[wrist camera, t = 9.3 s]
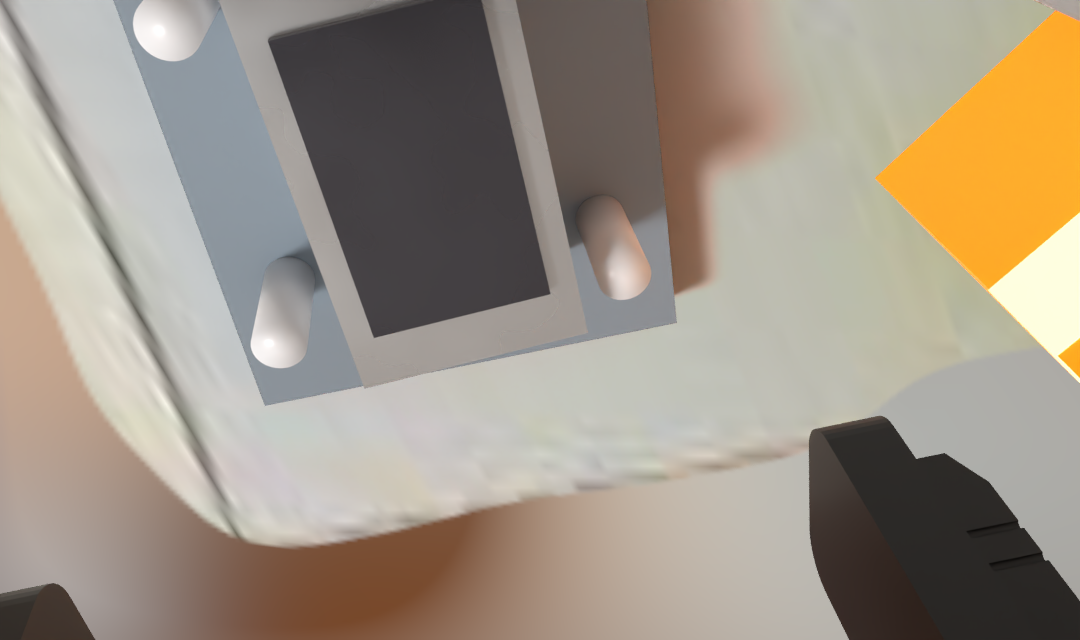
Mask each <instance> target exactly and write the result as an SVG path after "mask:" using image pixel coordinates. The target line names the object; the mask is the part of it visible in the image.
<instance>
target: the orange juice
mask: <svg viewBox="0 0 1080 640" xmlns="http://www.w3.org/2000/svg"><path fill="white" fill-rule="evenodd" d="M875 179H876V180H877V181H878V182H879V183H880V184H881V185H882V186H883V187H884V188H885V189H886V190H887V191H888V192H889V193H890V194H891V195H892V196H893V197H894V198H895V199H896V200H897V201H898V202H899V203H900V204H901V205H902V206H903V207H904V208H905V209H906V210H907V211H908V212H909V213H910V214H911V215H912V216H913V217H914V218H915V219H916V220H917V221H918V222H919V223H920V224H921V225H922V226H923V227H924V228H925V229H926V230H927V231H928V232H929V233H930V234H931V235H932V236H933V237H934V238H935V239H936V240H937V241H938V242H939V243H940V244H941V245H942V246H943V247H944V248H945V249H946V250H947V251H948V252H949V253H950V254H951V255H952V256H953V257H954V258H955V259H956V260H957V261H958V262H959V263H960V264H961V265H962V266H963V267H964V268H965V269H966V270H967V271H968V272H969V273H970V274H971V275H972V276H973V277H974V278H975V279H976V280H977V281H978V282H979V283H980V284H981V285H982V286H983V287H984V288H985V289H986V290H987V291H988V292H989V293H990V294H991V295H992V296H993V297H994V298H995V299H996V300H997V301H998V302H999V303H1000V304H1001V305H1002V306H1003V307H1004V308H1005V309H1006V310H1007V311H1008V312H1009V313H1010V314H1011V315H1012V316H1013V317H1014V318H1015V319H1016V320H1017V321H1018V322H1019V323H1020V324H1021V325H1022V326H1023V327H1024V328H1025V329H1026V330H1027V331H1028V332H1029V333H1030V334H1031V335H1032V336H1033V337H1034V338H1035V339H1036V340H1037V341H1038V342H1039V343H1040V344H1041V345H1042V346H1043V347H1044V348H1045V349H1046V350H1047V351H1048V352H1049V353H1050V354H1051V355H1052V356H1053V357H1054V358H1055V359H1056V360H1057V361H1058V362H1059V363H1060V364H1061V365H1062V366H1063V367H1064V368H1065V369H1066V370H1067V371H1068V372H1069V373H1070V374H1071V375H1072V376H1073V377H1074V378H1075V379H1076V380H1077V381H1078V382H1079V383H1080V21H1077V20H1075V19H1073V18H1071V17H1069V16H1067V15H1065V14H1062V13H1060V12H1058V11H1055V12H1054V13H1053V14H1052V15H1051V16H1050V17H1049V18H1047V19H1046V20H1045V21H1044V22H1043V23H1042V24H1041V25H1040V26H1039V27H1038V28H1037V29H1036V30H1035V31H1033V32H1032V33H1031V34H1030V35H1029V36H1028V37H1027V38H1026V39H1025V40H1024V41H1023V42H1022V43H1021V44H1019V45H1018V46H1017V47H1016V48H1015V49H1014V50H1013V51H1012V52H1011V53H1010V54H1009V55H1008V56H1006V57H1005V58H1004V59H1003V60H1002V61H1001V62H1000V63H999V64H998V65H997V66H996V67H995V68H994V69H992V70H991V71H990V72H989V73H988V74H987V75H986V76H985V77H984V78H983V79H982V80H981V81H980V82H978V83H977V84H976V85H975V86H974V87H973V88H972V89H971V90H970V91H969V92H968V93H967V94H965V95H964V96H963V97H962V98H961V99H960V100H959V101H958V102H957V103H956V104H955V105H954V106H953V107H951V108H950V109H949V110H948V111H947V112H946V113H945V114H944V115H943V116H942V117H941V118H940V119H939V120H937V121H936V122H935V123H934V124H933V125H932V126H931V127H930V128H929V129H928V130H927V131H926V132H924V133H923V134H922V135H921V136H920V137H919V138H918V139H917V140H916V141H915V142H914V143H913V144H912V145H910V146H909V147H908V148H907V149H906V150H905V151H904V152H903V153H902V154H901V155H900V156H899V157H898V158H896V159H895V160H894V161H893V162H892V163H891V164H890V165H889V166H888V167H887V168H886V169H885V170H883V171H882V172H881V173H880V174H879V175H878V176H877V177H876V178H875Z"/></svg>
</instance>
